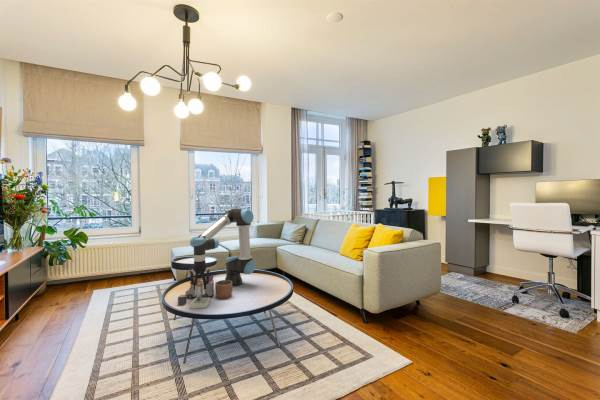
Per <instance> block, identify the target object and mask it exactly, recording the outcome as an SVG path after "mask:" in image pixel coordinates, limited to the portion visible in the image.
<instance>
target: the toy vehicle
mask: <svg viewBox="0 0 600 400" xmlns="http://www.w3.org/2000/svg"><path fill="white" fill-rule="evenodd" d="M205 279H206V275H205ZM194 280H195V276H194ZM214 281H215V280H214V275H209V283H208V284H206V289H205V294H204V295H203V280H202V279H198V278H197V283H199V282H201V283H202V297H208V298H209V297H212V296H213V295H214V294H215V289H214V287H215V282H214ZM184 295H186V298H187V299H191V300H192V299H193V298H194V297H195V298H197V295H195V290H194V285H192V284H191V281H190V282H189V288H188V289H187V290H185V293H184Z"/></svg>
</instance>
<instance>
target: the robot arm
mask: <svg viewBox="0 0 600 400" xmlns="http://www.w3.org/2000/svg"><path fill="white" fill-rule="evenodd" d="M253 221H254V213H253V211H252V210H251V209H249V208H238V207H237V208H235V207H234V208H231V209H229V210H227V211H226V212H224V213H223V214H221V215H220V218H219V219H218V220H216V221H215V222H214V223H213V224H212V225H211V226H209V227H208V228H207V229H205V230H204V231H203V232H202V233H201V234H199V235H198V236H197V237H196V236H195V237H192V238H191V239H190V241H189V245H190V247H192V248H193V268H192V269H190V270H189V274H190V282H191V284H192V285H194V290H195V295H197V285H196V283H197V279H198V277H199V275H201V278H202V279H201V280H202V281H203V295H204V294H205V289H206V284H208V283H209V276H210V272H211V268H207V265H206V251H211V250H215V249H218V248H219V246H220V241H219V239H218V238H214V237H215V236H216V235H217V234H218V233H219V232H221V230H223V229H224V228H225V227H226V226H230V225H231V224H233V223H236V227H237V228H238V243H239V246H238V247H239V255H233V256H228V257H227V258H226V260H225V269H226V270H225V271H226V273H225V274H226V275H225V279H224V280H230V281H232V287H238V286H240V285H242V284H243V278H242V275H241V274H244V275H251V274H252V273H253V272H255V269H256V265H257V264H256V261H255V260H254V259H253V256H252V255H251V242H250V241H251V240H250V226H251V224H252V223H253ZM205 272H206V274H205ZM194 273H195V276H194ZM205 276H206V278H205ZM194 277H195V280H194Z"/></svg>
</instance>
